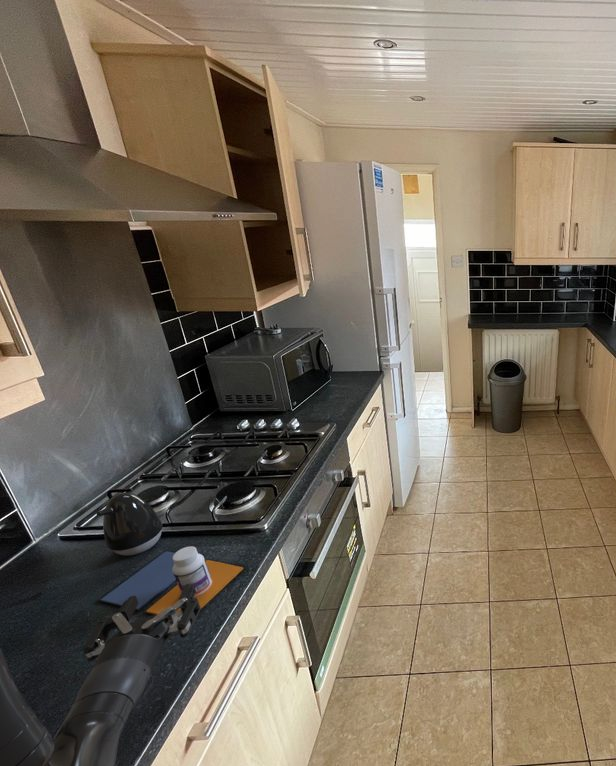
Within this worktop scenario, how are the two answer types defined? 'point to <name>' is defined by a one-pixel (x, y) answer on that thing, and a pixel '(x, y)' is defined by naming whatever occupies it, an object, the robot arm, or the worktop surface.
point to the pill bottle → (191, 570)
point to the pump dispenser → (130, 524)
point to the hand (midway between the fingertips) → (162, 592)
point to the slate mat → (145, 582)
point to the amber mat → (220, 579)
